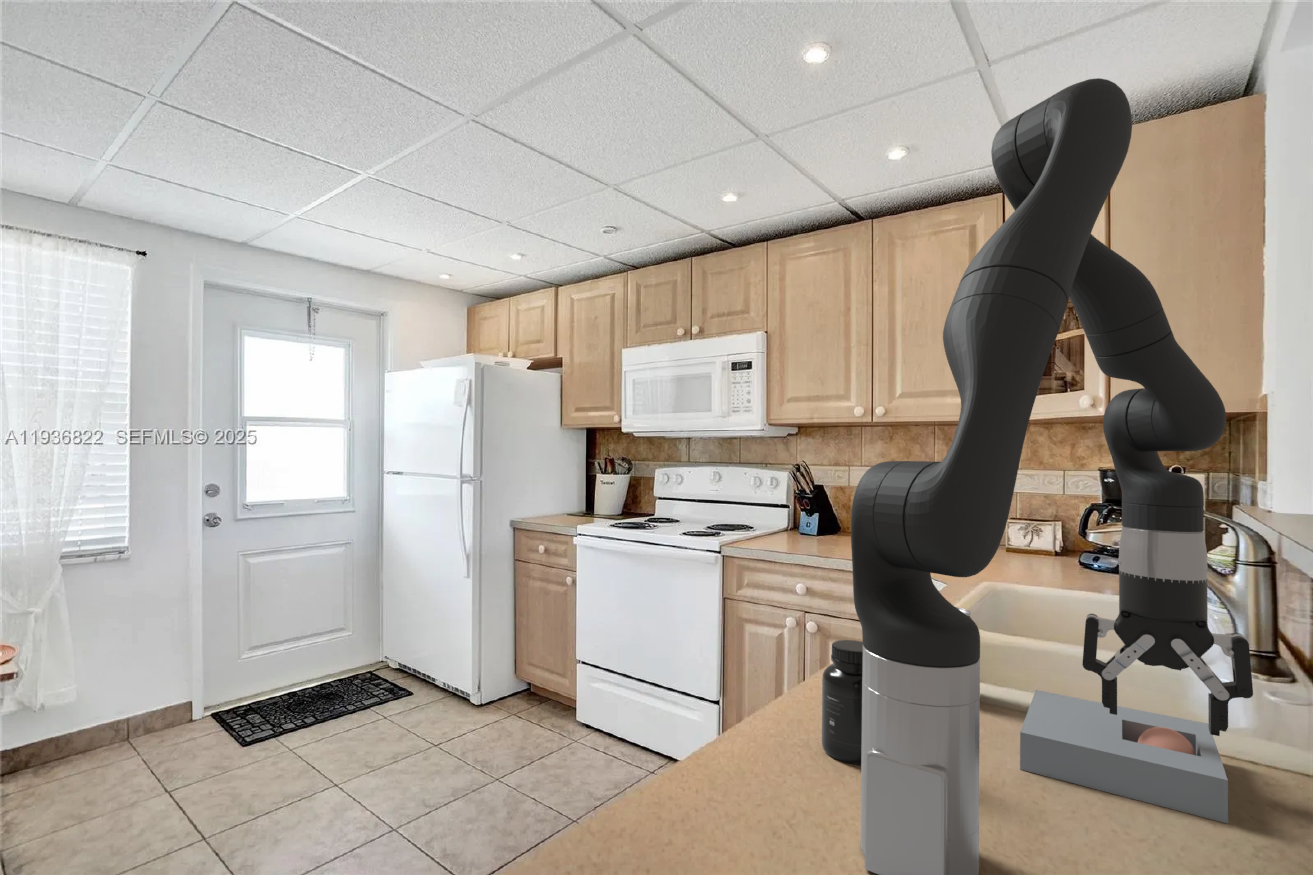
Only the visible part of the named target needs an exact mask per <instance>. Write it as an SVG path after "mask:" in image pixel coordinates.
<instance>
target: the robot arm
mask: <svg viewBox="0 0 1313 875" xmlns="http://www.w3.org/2000/svg"><path fill="white" fill-rule="evenodd" d="M1132 129H1133V116H1132V111H1131V106H1130V103H1129V100H1128V97H1127V95H1126V93H1125V91H1124V90H1123V89H1122V88H1121V87H1120V86H1119V85H1118V84H1117V83H1115V82H1113V81H1111V80H1109V79H1105V78H1099V77H1098V78H1089V79H1085V80H1083V81H1080V82H1076V83H1074V84H1071V85H1068V86H1067V87H1064V88H1063V89H1061V90H1060V91H1058V92H1056V93H1054V94H1052V95H1051V96H1050V97H1048V98H1046V99H1044V100H1042V101H1041V102H1039V103H1037V104H1035V105H1033V106H1031V107H1030V108H1029V109H1026V110H1024V111H1023V112H1022V113H1020V114H1018V115H1016V116H1014V117H1013V118H1011V119H1010V120H1008V121H1006V122H1005V123H1004V124H1002V126H1001V127H1000V128H999V129H998V130H997V131H996V133H995V135H994V138H993V140H992V142H991V143H992V144H991V161H992V166H993V170H994V172H995V176H996V178H997V180H998V182H999V185H1000V187H1001V189H1002V192H1003V193H1004V195H1005V196H1006V198H1007V200H1008V202H1009V204H1010V205H1011V207H1012V209H1013V210H1014V211H1013V212H1012V213H1011V214H1010V216H1009V217H1008V218H1007V219H1006V220H1005V221H1004V222H1003V223H1002V224H1001V225H1000V226H999V228H997V230H996V231H995V232H994V233H993V234H992V236H990V238H989V239H988V240H987V241H986V242H985V243H984V244H983V245H982V247H981V248H980V250H978V252H977V253H975V255H974V257H973V258H972V260H971V261H970V263H969V264H968V265H967V268H966V269H965V271H964V273H963V275H962V277H961V279H960V281H959V284H958V287H957V289H956V291H955V293H954V296H953V300H952V302H951V305H950V307H949V309H948V312H947V314H946V315H947V316H946V317H945V318H946V319H945V321H944V326H943V331H942V342H943V349H944V352H945V354H944V355H945V356H946V360H947V362H948V364H947V365H948V366H949V369H950V371H951V374H952V377H953V379H954V380H953V381H954V382H955V385H956V387H957V390H958V393H959V398H960V413H959V418H958V423H957V426H956V430H955V432H954V436H953V438H952V441H951V445H950V446H949V449H948V451H947V452H946V455H945V457H944V458H943V459H942V460H941V461H929V460H928V461H926V460H925V461H923V460H922V461H921V460H920V461H919V460H917V461H916V460H889V461H882V462H879V463H876V464H874V465H872V466H871V467H869V469H867V470H866V471H865V473H864V474H862V476H861V477H860V480H859V482H858V484H857V486H856V489H855V491H854V495H853V499H852V504H851V512H850V541H851V542H850V544H851V545H850V546H851V563H852V565H851V568H852V588H853V589H852V590H853V592H852V593H853V603H854V604H853V605H854V609H855V612H856V615H857V618H858V620H859V623H860V625H861V631H862V642H863V673H862V747H861V764H860V768H861V769H860V774H861V775H860V846H861V847H860V848H861V852H862V854H863V855H864V869H865V870H866V871H869V872H871V873H874V874H876V875H980V724H981V723H980V710H981V709H980V707H981V706H980V705H981V704H980V701H981V699H980V698H981V697H980V696H981V695H980V694H981V632H980V631H979V630H980V629H979V627H978V625H977V623H976V622H975V621H974V619H973V618H972V617H971V616H970V617H969V616H967V615H966V614H964V613H963V612H961V611H960V610H959V609H957V608H956V607H957V606H955V605H953V604H952V603H951V602H950V601H949V600H947V599H946V598H945V596H943V595H942V593H941V592H940V591H939V590H938V588H937V586H936V585H935V583H934V582H933V579H932V576H931V574H935V575H937V574H938V575H941V576H948V577H952V578H953V577H954V578H970V577H973V576H976V575H978V574H980V573H981V572H982V571H983V570H985V569H986V568H987V567H988V566H989V564H990V563H991V561H992V559H994V557H995V555H996V553H997V551H998V549H999V547H1000V545H1001V542H1002V539H1003V536H1004V533H1005V530H1006V526H1007V524H1008V519H1009V516H1010V511H1011V507H1012V502H1013V497H1014V496H1013V495H1014V493H1015V492H1014V491H1015V488H1016V481H1017V477H1018V473H1019V466H1020V463H1021V456H1022V453H1023V450H1024V444H1025V440H1026V434H1027V430H1028V426H1029V422H1030V419H1031V414H1032V412H1033V408H1034V405H1035V402H1036V398H1037V395H1038V392H1039V388H1040V385H1041V382H1042V379H1043V375H1044V372H1045V370H1046V367H1047V364H1048V361H1049V358H1050V356H1051V352H1052V350H1053V347H1054V345H1055V343H1056V340H1057V337H1058V335H1059V331H1060V329H1061V326H1062V322H1063V319H1064V315H1065V313H1066V310H1067V307H1068V303H1069V300H1070V302H1071V303H1072V306H1073V308H1074V311H1075V312H1076V314H1077V316H1078V319H1079V322H1080V325H1081V326H1082V328H1083V331H1084V334H1085V337H1086V339H1087V341H1088V343H1089V344H1088V345H1089V346H1090V349H1091V351H1092V354H1093V355H1094V359H1095V361H1096V364H1097V366H1098V367H1099V369H1100V370H1101V372H1102V373H1103V374H1104V375H1105V376H1107V377H1109V378H1112V379H1113V378H1114V379H1119V380H1126V381H1131V382H1133V383H1136V384H1140V385H1141V386H1142V387H1143V388H1133V389H1126V390H1123V391H1121V392H1118V393H1117V394H1116V395H1114V397H1112V398H1111V400H1110V401H1109V403H1108V404H1107V406H1106V408H1105V410H1104V414H1103V418H1102V420H1103V421H1102V428H1103V434H1104V438H1105V442H1106V444H1107V447H1108V450H1109V453H1110V457H1111V459H1112V463H1113V466H1114V471H1115V473H1116V476H1117V479H1118V482H1119V485H1120V489H1121V490H1120V491H1121V526H1122V527H1121V533H1120V539H1119V546H1118V548H1119V550H1118V559H1117V560H1118V565H1119V566H1118V574H1119V575H1118V585H1119V586H1118V592H1119V593H1118V612H1119V613H1118V615H1117V617H1116V618H1115V620H1114V619H1109V618H1104V617H1100V616H1098V615H1097V614H1095V613H1089V614H1087V615H1086V619H1085V622H1084V623H1085V626H1084V635H1083V636H1084V639H1083V640H1084V641H1083V652H1082V663H1081V664H1082V665H1081V666H1082V667H1083V669H1084V670H1085V671H1088V672H1093V673H1095V674H1097V675H1098V676H1099V678H1100V679H1101V703H1102V704H1103V706H1104V707H1106V708H1110V714H1114V715H1117V706H1118V676H1119V675H1120V674H1121V673H1122V672H1123V671H1124V670H1125V669H1128V668H1129V667H1130V666H1131V665H1133V663H1134V662H1135V661H1139V662H1141V663H1142V664H1144V666H1152V667H1158V666H1163V667H1165V668H1168V669H1171V670H1175V671H1182V670H1186V669H1188V668H1190V670H1191V671H1192V672H1193V673H1194V674H1195V675H1196V677H1197V678H1198V679H1199V680H1200V681H1201V682H1202V683H1203V684H1204V686H1206V688H1207V689H1208V690H1209V691H1210V693H1209V692H1208V695H1207V696H1208V701H1207V702H1208V705H1207V706H1208V724H1209V731H1210V734H1211V735H1213V736H1215V737H1216V736H1217V737H1220V736H1221V735H1220V731H1222V732H1225V733H1226V732H1227V730H1228V728H1229V702H1230V701H1231V700H1232V699H1238V698H1243V699H1250V698H1253V696H1254V687H1253V686H1254V685H1253V677H1252V664H1251V654H1250V653H1251V652H1250V643H1249V641H1248V640H1247V638H1246V637H1245V636H1244V635H1243V634H1242V633H1239V632H1234V633H1233V632H1232V633H1230V634H1225V633H1224V634H1223V633H1212V632H1211V630H1210V629H1209V624H1208V622H1209V621H1208V619H1209V618H1208V569H1209V567H1208V552H1207V551H1208V550H1207V545H1206V540H1205V539H1206V538H1205V532H1204V529H1205V524H1204V523H1205V516H1204V515H1205V514H1204V512H1205V511H1204V510H1205V509H1204V508H1205V507H1204V506H1205V498H1204V497H1205V496H1204V494H1205V493H1204V487H1203V485H1202V483H1201V481H1200V480H1198V479H1197V478H1195V477H1192V476H1190V475H1186V474H1182V473H1177V472H1173V471H1171V470H1169V469H1167V468H1166V466H1165V465H1164V464H1163V462H1162V460H1161V458H1160V455H1159V452H1197V451H1203V450H1207V449H1208V448H1210V447H1212V446H1214V445H1215V444H1216V443H1217V442H1219V440H1220V439H1221V438H1222V436H1223V434H1224V431H1225V429H1226V425H1227V412H1226V408H1225V404H1224V402H1223V400H1222V398H1221V396H1220V394H1219V392H1218V391H1217V390H1216V387H1214V385H1212V383H1211V381H1210V380H1209V379H1208V378H1207V377H1206V375H1204V373H1203V372H1202V371H1201V370H1200V369H1199V367H1198V365H1196V364H1195V362H1193V360H1192V359H1191V357H1190V356H1189V355H1188V353H1186V351H1185V350H1184V349H1183V348H1182V347H1181V345H1179V343H1178V342H1177V340H1176V338H1175V336H1174V333H1173V330H1172V328H1171V326H1170V323H1169V320H1168V317H1167V315H1166V312H1165V310H1164V308H1163V307H1164V306H1163V304H1162V301H1161V299H1160V297H1159V295H1158V292H1157V290H1156V288H1154V286H1153V284H1152V282H1151V281H1150V280H1149V278H1147V276H1146V275H1145V274H1144V273H1143V272H1142V271H1141V270H1140V269H1139V268H1137V267H1136V266H1135V265H1134V263H1131V262H1130V261H1128V260H1127V259H1126V258H1124V257H1123V256H1122V255H1120V253H1117V252H1116V251H1114V250H1113V249H1111V248H1110V247H1108V246H1107V245H1106V244H1104V243H1103V242H1102V241H1100V240H1099V239H1097V238H1096V237H1095V235H1093V234H1092V231H1093V229H1094V226H1095V225H1096V224H1095V223H1096V221H1097V219H1098V218H1099V215H1100V212H1101V211H1102V208H1103V206H1104V204H1105V202H1106V200H1107V199H1108V197H1109V194H1110V192H1111V190H1112V189H1113V186H1114V185H1115V182H1116V180H1117V177H1118V175H1119V174H1120V172H1121V170H1122V167H1123V165H1124V163H1125V159H1126V158H1127V154H1128V152H1129V148H1130V143H1131V140H1132V131H1133V130H1132ZM1109 631H1114V632H1115V634H1116V635H1117V637H1118V638H1119V639H1120V640H1121V641H1122V644H1123V645H1122V646H1121V647H1120V648H1119V649H1118V650H1117V651H1116V652H1115V653H1114V654H1113V656H1111V657H1110V658H1109V659H1108V660H1107V661H1106V662H1105V661H1102V660H1100V659H1098V658H1097V652H1098V639H1101V638H1102V639H1103V638H1105V637H1106V636H1107V633H1108V632H1109ZM1214 645H1217V646H1219V647H1220V648H1221V651H1222V653H1223V654H1224V655H1225V656H1227V657H1229V658H1231V667H1232V678H1233V679H1232V680H1233V681H1225V682H1224V681H1221V679H1220V678H1219V677H1218V675H1216V673H1215V672H1214V670H1212V669H1211V667H1210V666H1209V664H1208V663H1207V662H1206V661H1205V660H1204V659H1203V657H1202V656H1204V655H1205V654H1206V653H1207V652H1208V651H1209V650H1210V649H1211V648H1212V647H1213V646H1214Z"/></svg>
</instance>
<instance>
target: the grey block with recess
mask: <svg viewBox="0 0 1313 875" xmlns="http://www.w3.org/2000/svg"><path fill="white" fill-rule="evenodd" d="M1154 727H1165V728H1169V729H1172V730H1174V731H1176V732H1178V733H1180V734H1181V735H1183V736H1184V737H1185V738H1186V739H1187V740H1188V741H1189V742H1190V743H1191V745H1192V746H1193V748H1194V750H1195V753H1196V755H1192V754H1187V753H1182V752H1178V751H1173V750H1169V749H1164V748H1160V747H1155V746H1151V745H1146V744H1141V743H1138V739H1139V737H1140V735H1141V734H1142V733H1143V732H1144V731H1146V730H1147V729H1150V728H1154ZM1019 736H1020V737H1019V753H1020V754H1019V756H1020V757H1019V769H1020V770H1021V771H1025V772H1029V773H1032V774H1037V775H1040V776H1043V777H1048V778H1052V779H1056V780H1058V781H1059V780H1060V781H1063V782H1068V783H1070V784H1076V785H1079V786H1082V787H1086V788H1090V789H1094V790H1098V791H1100V792H1101V791H1102V792H1106V793H1109V794H1113V795H1116V796H1121V797H1125V798H1127V799H1128V798H1129V799H1132V800H1136V801H1139V802H1144V803H1147V804H1152V805H1156V806H1159V807H1164V808H1167V809H1171V810H1174V811H1179V812H1182V813H1186V814H1190V815H1193V816H1197V817H1201V818H1204V819H1205V818H1206V819H1209V820H1213V821H1217V822H1220V823H1224V824H1229V780H1228V777H1227V776H1228V775H1227V773H1226V771H1225V768H1224V765H1223V762H1222V759H1221V756H1220V752H1219V750H1218V747H1217V744H1216V741H1215V738H1214V735H1211V734H1210V731H1209V723H1207V722H1206V723H1205V722H1201V721H1197V720H1196V721H1195V720H1192V719H1187V718H1181V717H1175V716H1171V715H1167V714H1166V715H1165V714H1162V713H1161V714H1160V713H1155V712H1150V711H1145V710H1140V709H1134V708H1129V707H1125V706H1119V705H1117V715H1114V714H1110V708H1106V707H1104V706H1103V704H1102V702H1099V701H1094V700H1089V699H1084V698H1080V697H1079V698H1078V697H1074V696H1070V695H1069V696H1068V695H1063V694H1058V693H1054V692H1048V691H1045V690H1044V691H1043V690H1038V689H1035V691H1034V694H1033V697H1032V699H1031V702H1030V705H1029V708H1028V710H1027V712H1026V715H1025V718H1024V721H1023V723H1022V726H1021V729H1020V734H1019Z"/></svg>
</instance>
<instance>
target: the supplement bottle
mask: <svg viewBox="0 0 1313 875" xmlns="http://www.w3.org/2000/svg"><path fill="white" fill-rule="evenodd" d="M830 660H831V662H832V663H831V664H829V665H828V666H826V668H825V669H824V670H823V672H822V677H821V678H822V680H821V685H822V686H821V691H822V692H821V746H822V748H823V750H824V752H825V753H827V755H829V756H830V757H831V758H833V759H835V760H837V761H840V762H843V763H845V764H846V763H847V764H850V765H851V764H852V765H861V747H862V673H863V641H860V640H851V639H840V640H836V641H835V640H834V642H832V644H831V654H830Z"/></svg>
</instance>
